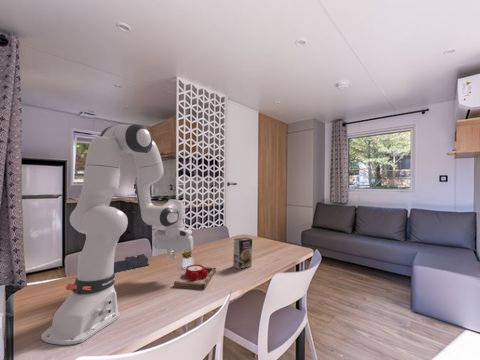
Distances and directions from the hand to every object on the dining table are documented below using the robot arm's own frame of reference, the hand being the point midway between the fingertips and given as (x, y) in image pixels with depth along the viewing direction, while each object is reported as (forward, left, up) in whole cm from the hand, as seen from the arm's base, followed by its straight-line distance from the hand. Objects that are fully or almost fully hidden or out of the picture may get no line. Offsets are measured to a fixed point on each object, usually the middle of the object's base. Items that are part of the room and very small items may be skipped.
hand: (172, 258), depth 119 cm
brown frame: (+1, -12, -10) cm, 15 cm away
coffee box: (+23, -33, -10) cm, 42 cm away
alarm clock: (+4, -12, -10) cm, 16 cm away
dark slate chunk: (+11, +31, -10) cm, 34 cm away
